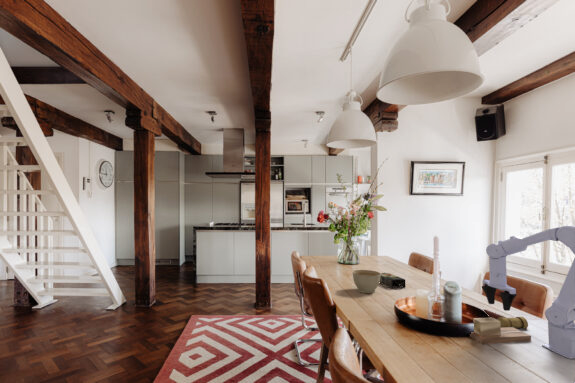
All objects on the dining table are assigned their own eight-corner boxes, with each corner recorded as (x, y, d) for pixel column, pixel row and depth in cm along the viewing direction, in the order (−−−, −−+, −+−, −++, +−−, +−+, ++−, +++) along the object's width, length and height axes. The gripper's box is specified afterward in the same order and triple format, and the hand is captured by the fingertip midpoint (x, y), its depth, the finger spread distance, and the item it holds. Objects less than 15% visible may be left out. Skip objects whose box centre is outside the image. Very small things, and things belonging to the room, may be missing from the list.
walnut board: (531, 341, 113) (530, 335, 113) (482, 344, 111) (482, 338, 111) (512, 332, 121) (512, 327, 121) (466, 334, 119) (466, 329, 119)
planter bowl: (376, 297, 167) (376, 277, 167) (348, 292, 175) (348, 273, 176) (384, 290, 181) (383, 271, 181) (357, 286, 189) (357, 268, 189)
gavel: (470, 305, 144) (490, 305, 145) (470, 315, 144) (490, 315, 144) (505, 319, 123) (527, 318, 124) (506, 331, 123) (528, 330, 124)
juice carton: (375, 281, 202) (375, 271, 202) (388, 280, 204) (388, 271, 204) (391, 289, 182) (391, 279, 183) (406, 289, 184) (406, 279, 184)
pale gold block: (500, 334, 114) (500, 321, 114) (480, 336, 113) (480, 322, 113) (492, 330, 118) (491, 317, 118) (472, 331, 117) (472, 318, 117)
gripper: (475, 269, 130) (476, 301, 130) (503, 277, 116) (504, 313, 115) (490, 269, 131) (491, 301, 130) (520, 277, 117) (521, 313, 116)
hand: (498, 307), depth 123 cm, fingers open, 7 cm apart
